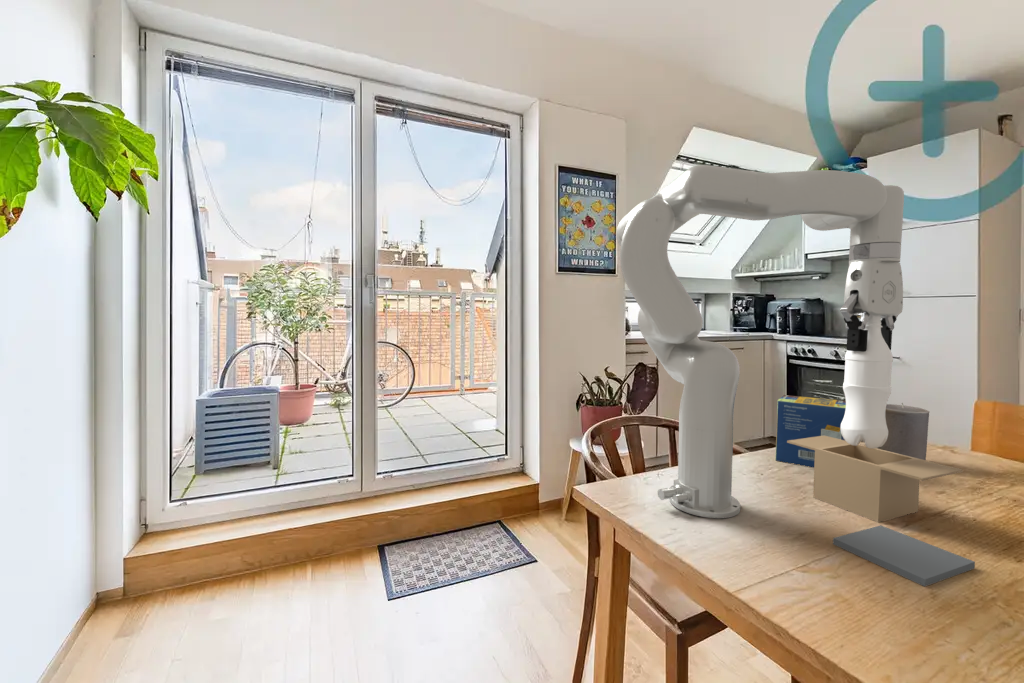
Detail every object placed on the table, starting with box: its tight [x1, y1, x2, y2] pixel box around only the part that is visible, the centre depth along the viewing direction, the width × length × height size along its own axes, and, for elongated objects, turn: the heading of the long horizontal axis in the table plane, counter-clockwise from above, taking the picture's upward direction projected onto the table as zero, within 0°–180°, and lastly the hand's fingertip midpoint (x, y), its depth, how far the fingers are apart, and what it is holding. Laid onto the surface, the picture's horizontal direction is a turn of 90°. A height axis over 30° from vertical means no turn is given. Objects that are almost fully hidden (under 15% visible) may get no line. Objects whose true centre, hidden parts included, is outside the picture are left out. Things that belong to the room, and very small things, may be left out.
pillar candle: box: [877, 402, 930, 461], centre depth 111 cm, size 10×10×15 cm
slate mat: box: [832, 524, 976, 587], centre depth 68 cm, size 12×12×1 cm
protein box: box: [774, 394, 846, 468], centre depth 111 cm, size 10×15×16 cm
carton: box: [787, 436, 964, 523], centre depth 86 cm, size 12×24×10 cm, turn 21°
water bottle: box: [841, 315, 894, 448], centre depth 85 cm, size 7×7×25 cm
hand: (868, 349), depth 84 cm, fingers closed on water bottle, 6 cm apart
